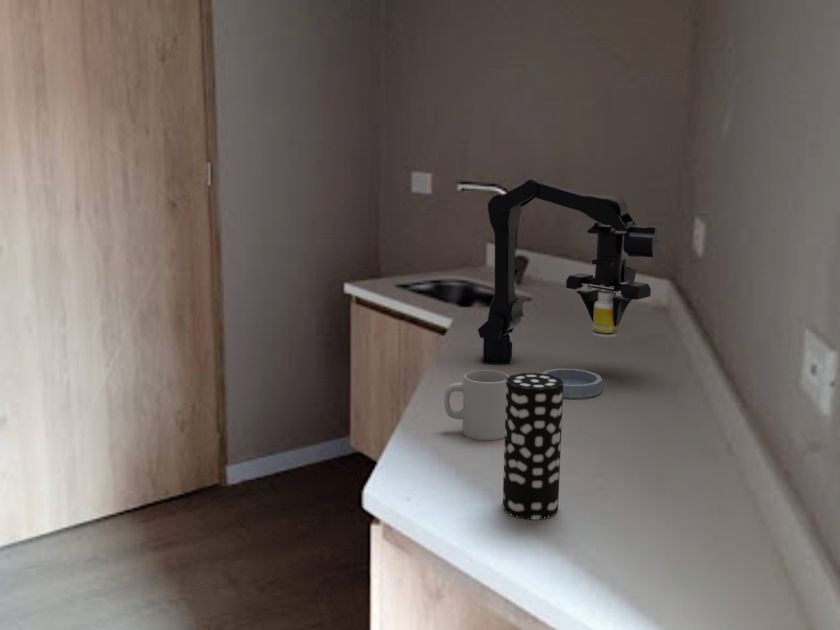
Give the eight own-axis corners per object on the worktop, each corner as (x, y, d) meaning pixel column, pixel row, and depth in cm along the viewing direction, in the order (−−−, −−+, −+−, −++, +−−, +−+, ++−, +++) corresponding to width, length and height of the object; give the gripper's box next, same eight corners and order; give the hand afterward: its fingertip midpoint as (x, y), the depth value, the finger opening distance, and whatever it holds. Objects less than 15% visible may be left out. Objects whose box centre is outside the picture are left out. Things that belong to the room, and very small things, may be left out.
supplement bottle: (617, 338, 202) (619, 295, 200) (592, 337, 203) (594, 293, 201) (617, 332, 208) (619, 290, 205) (592, 331, 209) (594, 289, 206)
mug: (508, 425, 175) (509, 370, 173) (508, 441, 167) (510, 383, 164) (445, 423, 176) (445, 368, 173) (442, 439, 168) (443, 381, 165)
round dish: (543, 398, 191) (544, 386, 191) (535, 380, 204) (535, 368, 204) (606, 399, 191) (607, 386, 191) (594, 380, 204) (595, 368, 204)
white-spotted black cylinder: (498, 497, 143) (501, 373, 138) (551, 495, 143) (556, 372, 139) (507, 520, 135) (511, 389, 130) (563, 518, 135) (569, 388, 131)
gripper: (666, 255, 201) (661, 325, 204) (594, 246, 213) (590, 312, 217) (638, 261, 193) (634, 333, 196) (565, 251, 206) (562, 319, 209)
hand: (605, 324), depth 205 cm, fingers closed on supplement bottle, 5 cm apart
